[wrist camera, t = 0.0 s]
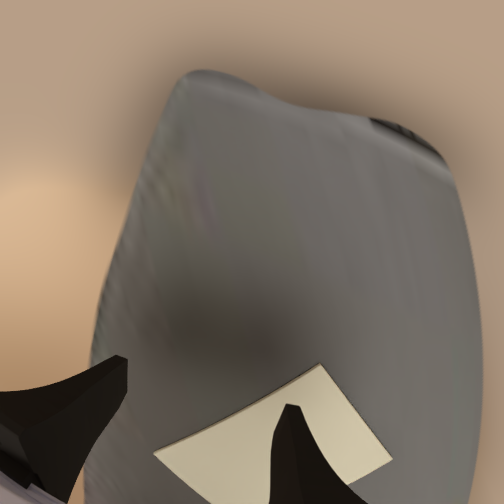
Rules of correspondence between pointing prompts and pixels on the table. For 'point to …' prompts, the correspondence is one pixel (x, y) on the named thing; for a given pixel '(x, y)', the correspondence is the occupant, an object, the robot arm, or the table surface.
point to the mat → (260, 440)
